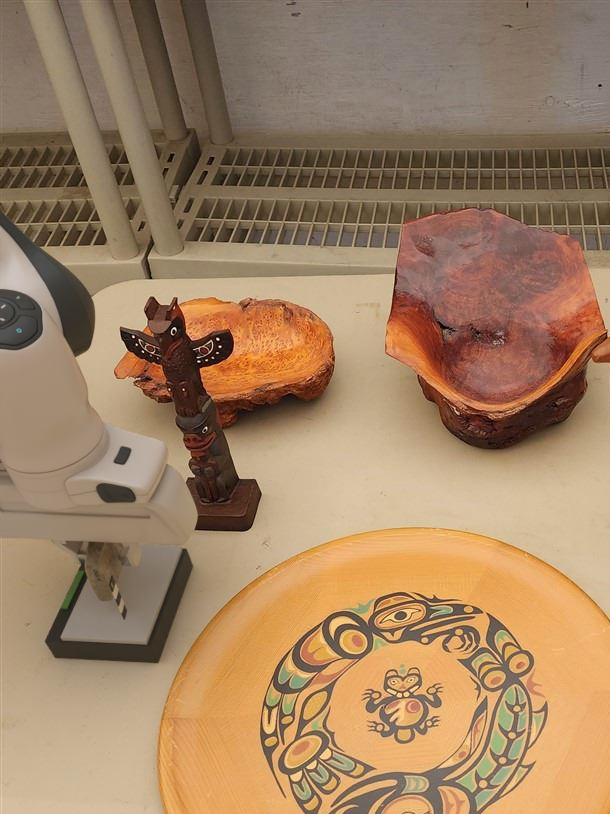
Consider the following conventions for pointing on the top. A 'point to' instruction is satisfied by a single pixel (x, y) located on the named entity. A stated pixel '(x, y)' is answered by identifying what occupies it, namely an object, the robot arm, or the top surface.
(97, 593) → the brown stone with scale
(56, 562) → the top surface
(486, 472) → the top surface
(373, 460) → the top surface
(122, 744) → the top surface
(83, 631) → the scale
